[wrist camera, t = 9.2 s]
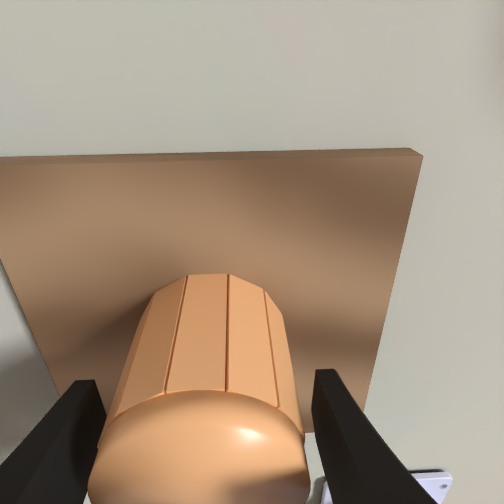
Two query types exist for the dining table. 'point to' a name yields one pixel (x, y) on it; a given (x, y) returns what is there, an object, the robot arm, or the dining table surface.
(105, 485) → the wire nut cap
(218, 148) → the dining table surface
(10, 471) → the robot arm
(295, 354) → the post block
